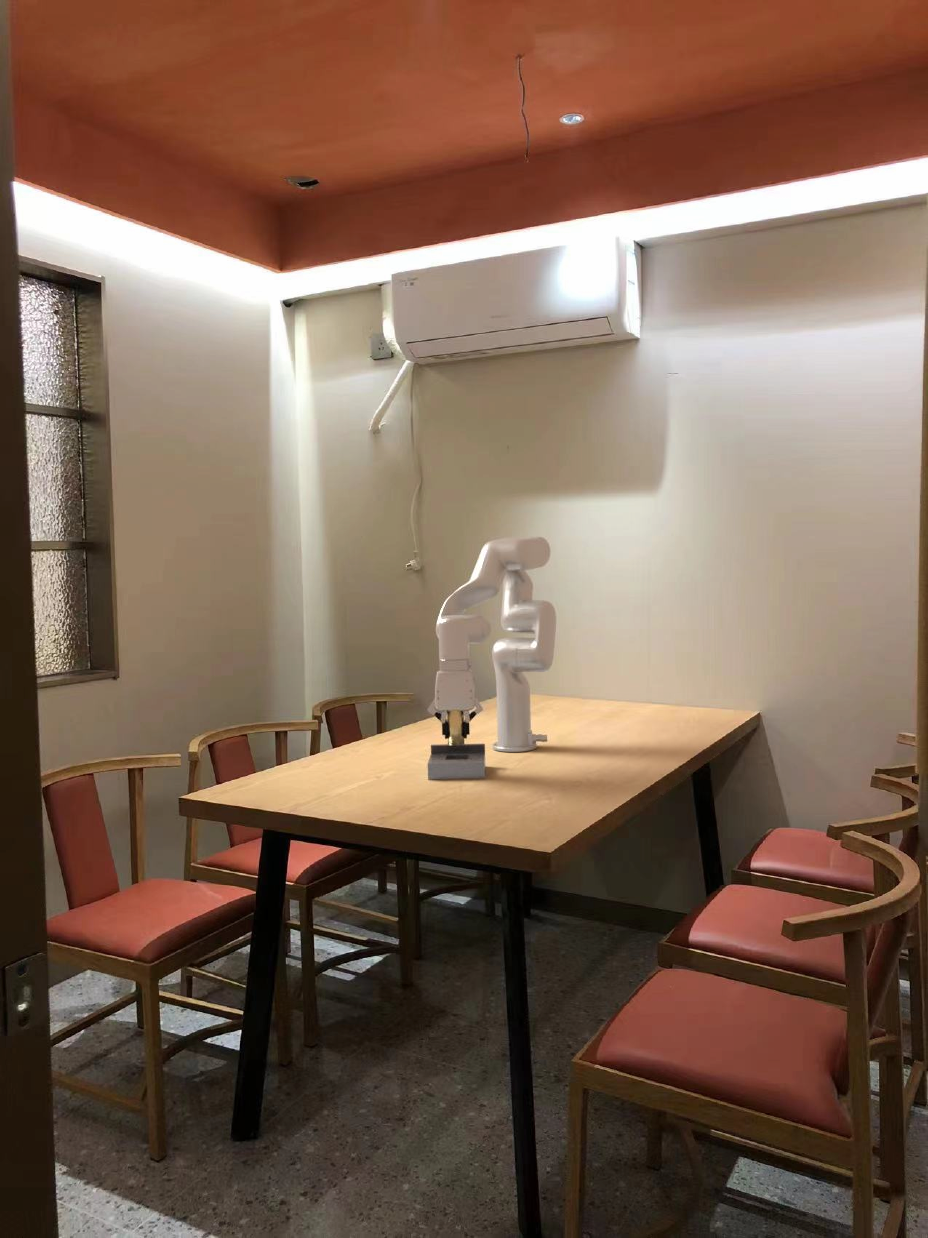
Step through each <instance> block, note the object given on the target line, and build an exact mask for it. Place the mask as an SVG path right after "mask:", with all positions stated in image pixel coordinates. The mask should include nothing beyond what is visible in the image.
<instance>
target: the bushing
mask: <svg viewBox="0 0 928 1238" xmlns="http://www.w3.org/2000/svg"><path fill="white" fill-rule="evenodd" d="M446 719H447V723H448V738H447V744H448V745H451V746H460V745H464V744H465V738H464V720H465V717H464V713H463V711H460V710H451V711H447V716H446Z"/></svg>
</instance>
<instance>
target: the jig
mask: <svg viewBox="0 0 928 1238" xmlns="http://www.w3.org/2000/svg"><path fill="white" fill-rule="evenodd" d="M485 745H486V744H485V743H464V745H460V746H451V745H448V743H447V744H446V743H445V744H431V745H430V756H429V758H428V761H427V779H428V780H429V781H430V780H431V781H432V780H476V779H477V780H480V779H482V780H483V779H485V777H486V776H485V775H486V746H485Z"/></svg>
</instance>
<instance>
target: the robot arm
mask: <svg viewBox="0 0 928 1238" xmlns="http://www.w3.org/2000/svg"><path fill="white" fill-rule="evenodd" d="M550 558H551V547H550V544H549V542H548V540H547V539H545V537H542V536H525V537H523V536H522V537H520V536H519V537H504V538H499V539H493V540H490V541H487V542H486V543H485V544H484V545H483V546H482V548H481V551H480V553H479V556H478V558H477V561H476V562H475V563H476V564H475V566H474V568H473V570H472V573H471V575H470V578H469V580H468V581H467V582H466V583H464V584H463V585H461V586H460V587H459V588H457V589H456V590H455V591H454V592H453V593H452V594H450V596H449V595H448V598H447V599H445V601H444V602H443V605H442V606H441V609H440V612H439V614H438V617H437V619H436V624H435V633H436V636H437V639H438V655H439V659H438V661H439V670H438V671H436V675H435V685H434V699H433V700H432V702H431V703H430V705H429V706H428V708H427V712H428V713H429V714H431V715H432V716H434V717H435V718H437V719H438V721H439V722H440V723H441V735H442V736H444V739H445V740H448V723H447V711H451V710H460V711H463V713H464V740H465V739H467V738H468V735H470V731H471V730H470V722H471V721H472V720H473V719H474V718H475V717H476V716H477V715H479V714H480V713H481V712H483V711H484V707H483V706H482V704H481V703H480V702H479V700H478V698H476V686H475V677H474V674H473V670H470V668H472V667H475V666H476V665H475V664H476V662H475V660H474V661H473V660H471V659H470V645H477V644H483V643H485V642H486V641H487V640H488V638H489V637H490V636H491V632H492V631H491V630H492V628H491V627H492V626H491V623H490V621H489V620H488V618H486V617H485V616H482V615H479V614H463V613H464V612H466V611H467V610H469V609H471V608H473V607H476V606H477V605H478V606H479V605H482V604H483V603H486V602H488V601H489V600H492V599H494V598H496V597H497V596H498V594H499V592H500V591H501V587H502V585H503V587H502V600H501V602H502V603H501V613H500V625H501V628H502V629H503V631H505V632H507V633H510V634H526V635H527V634H528V635H529V634H531V635H534V637H505V638H500V639H498V640H497V641H496V642H494V644H493V646H492V648H491V657H492V663H493V667H494V673H495V683H496V684H495V686H496V716H497V717H496V718H497V719H496V723H497V725H496V726H497V741H496V742H494V743H492V749H493V750H495V751H497V752H504V753H519V752H529V751H532V750H536V749H537V748H538V747H537V746H538V745H537V742H541V743H542V742H543V743H546V742H548V734H540V733H539V734H535V733H533V730H532V728H531V727H532V721H531V720H532V718H531V714H532V713H531V687H530V684H529V681H528V679H527V677H526V676H525V674H524V673H527V672H528V673H544V672H547V671H549V670H550V669H551V667H552V665H553V661H554V654H555V644H556V643H555V642H556V641H555V640H556V629H557V613H556V610H555V607H554V605H553V603H551V602H550V601H548V600H541V599H534V600H533V590H534V583H533V580H532V579H531V577H530V576H529V574H528V572H527V571H529V570H535V569H539V568H542V567H544V566H546V565H547V564H548V562H549V561H550ZM473 709H474V710H473ZM470 711H471V712H470ZM440 712H441V713H440Z"/></svg>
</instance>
